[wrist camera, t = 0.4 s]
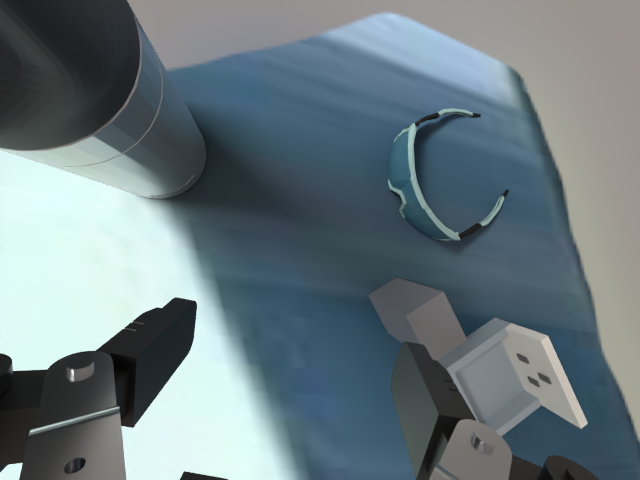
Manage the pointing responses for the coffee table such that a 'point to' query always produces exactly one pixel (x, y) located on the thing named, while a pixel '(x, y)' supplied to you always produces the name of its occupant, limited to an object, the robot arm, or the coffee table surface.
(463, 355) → the socket bay
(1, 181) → the coffee table surface
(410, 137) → the sunglasses
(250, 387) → the coffee table surface
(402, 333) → the gray rectangular block
